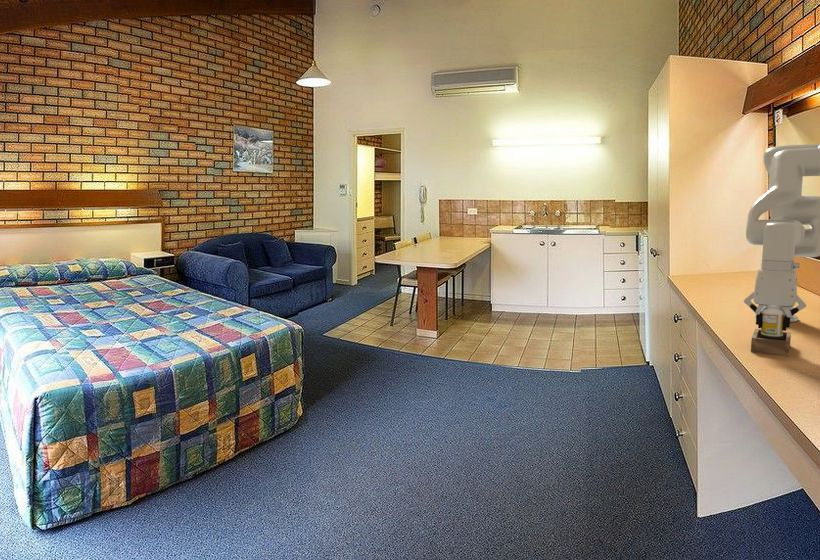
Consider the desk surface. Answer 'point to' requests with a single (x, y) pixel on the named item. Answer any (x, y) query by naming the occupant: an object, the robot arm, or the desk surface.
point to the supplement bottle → (772, 321)
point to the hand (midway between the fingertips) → (772, 328)
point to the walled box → (771, 343)
